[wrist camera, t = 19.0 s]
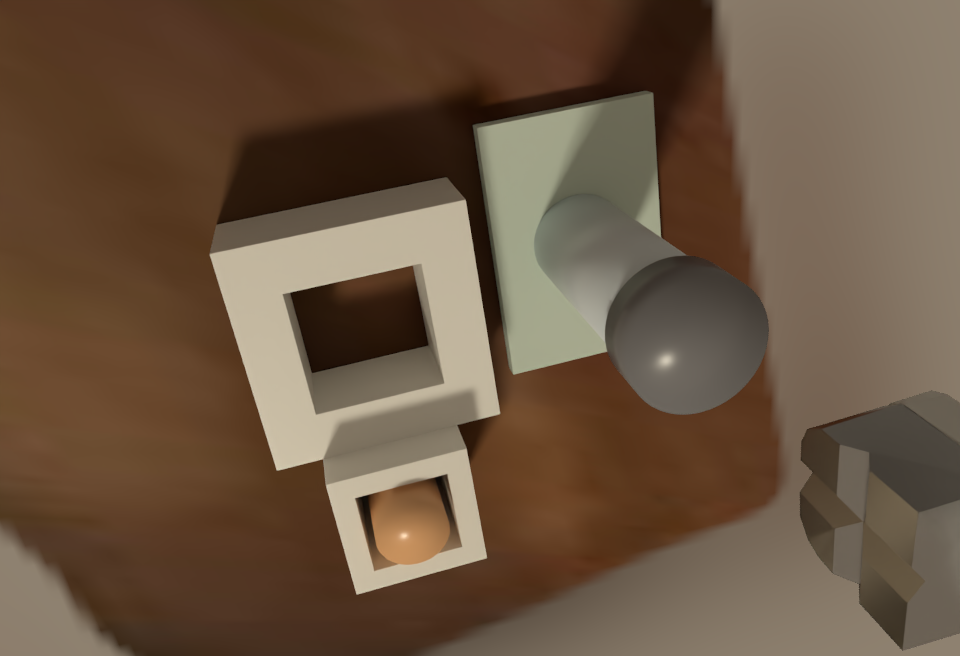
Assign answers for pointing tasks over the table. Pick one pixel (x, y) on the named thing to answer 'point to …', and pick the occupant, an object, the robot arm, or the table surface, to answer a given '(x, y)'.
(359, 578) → the housing
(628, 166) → the mat
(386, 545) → the release button
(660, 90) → the table surface
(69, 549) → the table surface
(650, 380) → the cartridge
